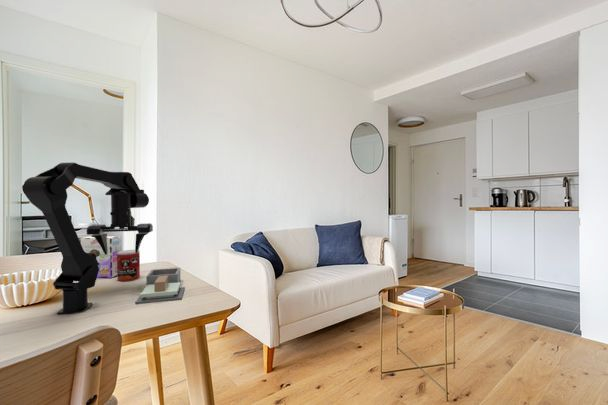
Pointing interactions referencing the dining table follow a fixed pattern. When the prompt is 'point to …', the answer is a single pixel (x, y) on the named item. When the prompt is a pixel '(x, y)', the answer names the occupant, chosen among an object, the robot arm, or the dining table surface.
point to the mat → (175, 297)
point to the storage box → (171, 273)
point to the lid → (161, 289)
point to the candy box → (106, 261)
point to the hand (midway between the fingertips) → (121, 253)
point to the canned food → (128, 265)
